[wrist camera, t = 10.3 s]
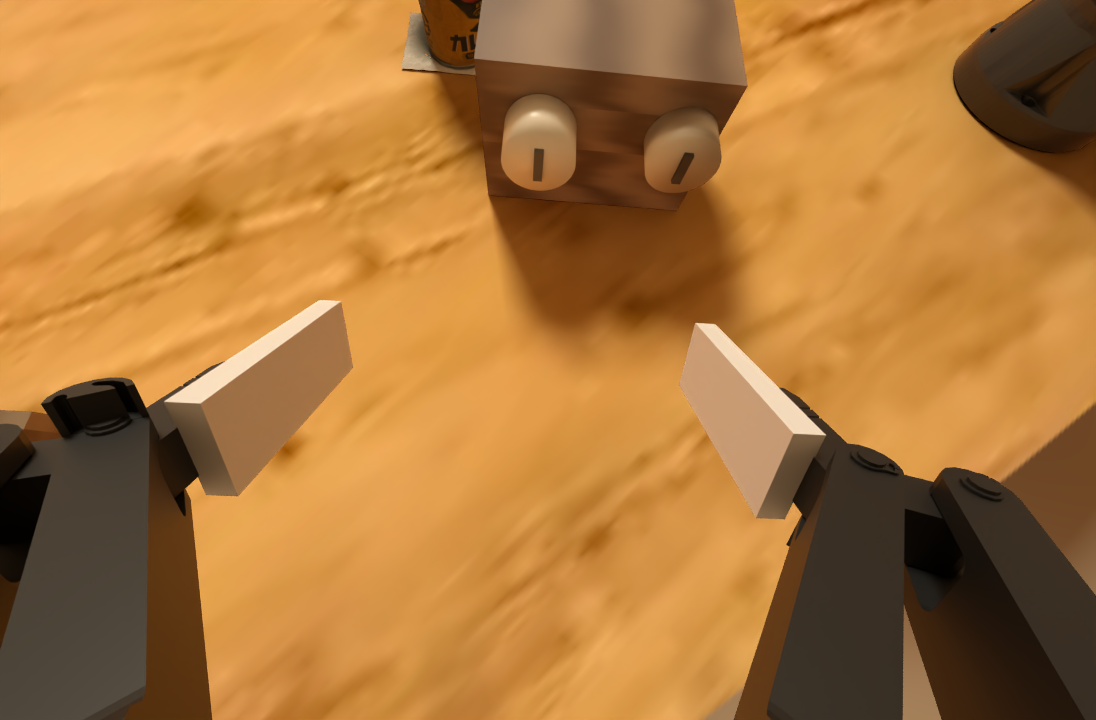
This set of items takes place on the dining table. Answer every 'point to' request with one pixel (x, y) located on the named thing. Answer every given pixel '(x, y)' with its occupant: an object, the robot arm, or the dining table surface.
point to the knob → (539, 142)
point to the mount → (615, 91)
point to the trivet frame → (31, 424)
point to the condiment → (443, 36)
